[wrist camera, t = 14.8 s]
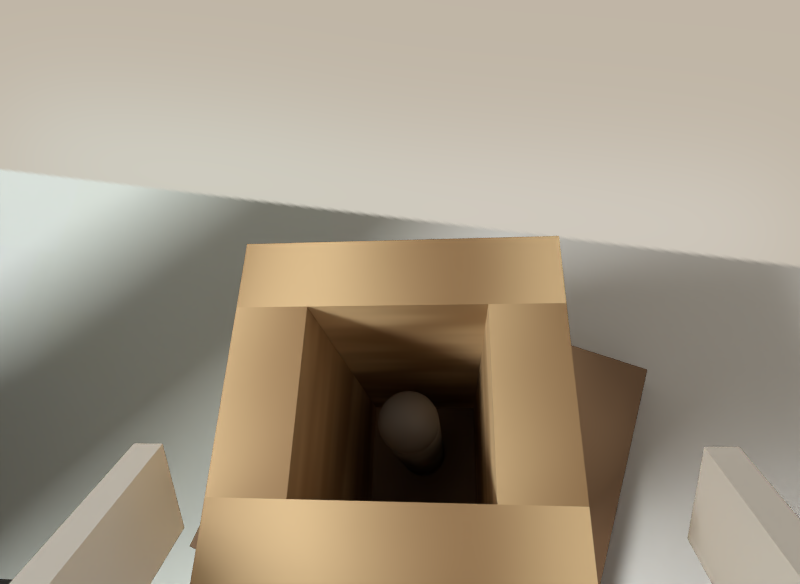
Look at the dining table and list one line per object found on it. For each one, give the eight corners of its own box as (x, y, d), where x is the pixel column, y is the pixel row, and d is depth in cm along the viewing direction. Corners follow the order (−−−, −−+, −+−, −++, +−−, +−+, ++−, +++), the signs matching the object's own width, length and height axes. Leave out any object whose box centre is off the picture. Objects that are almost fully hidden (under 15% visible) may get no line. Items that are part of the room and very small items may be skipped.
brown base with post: (205, 545, 23) (31, 558, 14) (332, 279, 28) (270, 153, 19) (559, 719, 20) (657, 902, 10) (636, 378, 24) (751, 284, 15)
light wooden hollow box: (325, 558, 21) (188, 593, 10) (339, 368, 25) (247, 244, 14) (524, 565, 20) (601, 612, 10) (511, 368, 24) (559, 236, 13)
